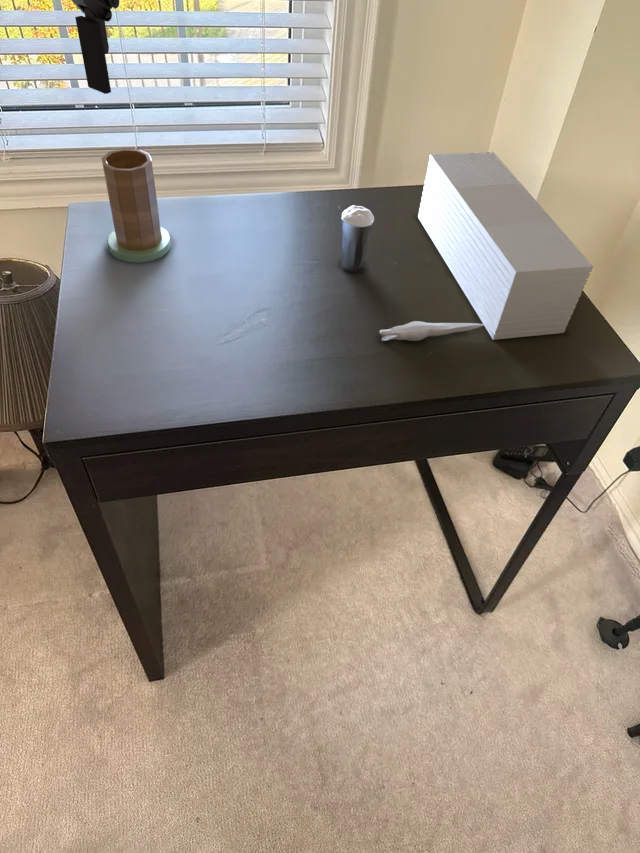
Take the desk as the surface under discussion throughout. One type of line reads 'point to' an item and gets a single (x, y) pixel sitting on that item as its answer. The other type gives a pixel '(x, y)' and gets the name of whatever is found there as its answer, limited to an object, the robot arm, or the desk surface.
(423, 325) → the white tapered spindle
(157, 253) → the holder
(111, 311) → the desk surface
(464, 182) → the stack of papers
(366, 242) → the milkshake
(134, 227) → the tube
